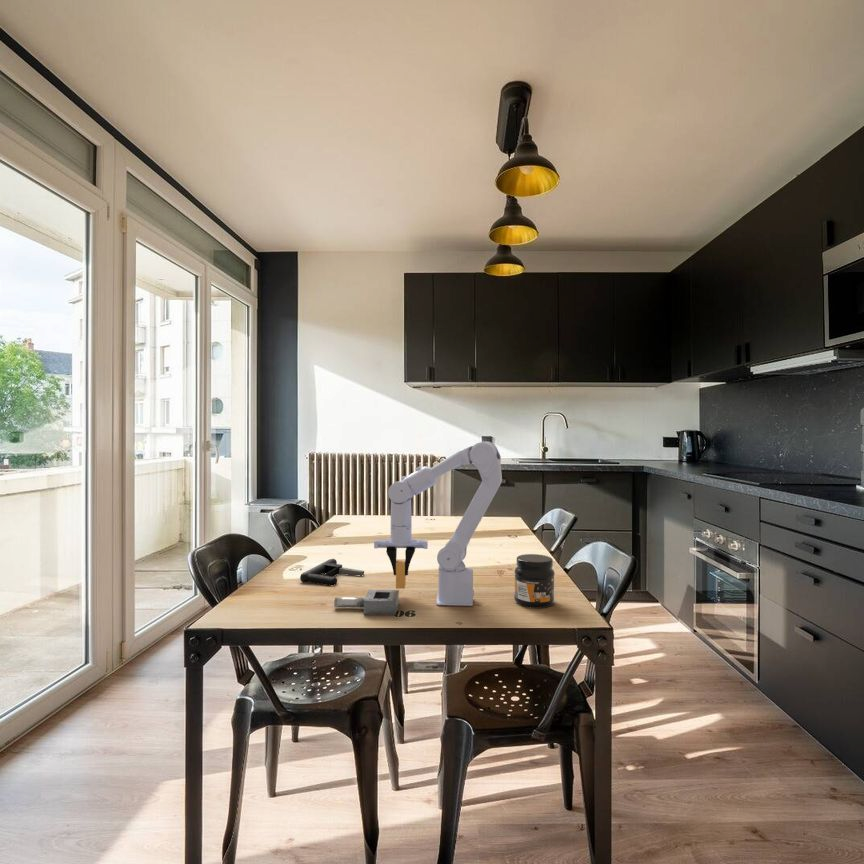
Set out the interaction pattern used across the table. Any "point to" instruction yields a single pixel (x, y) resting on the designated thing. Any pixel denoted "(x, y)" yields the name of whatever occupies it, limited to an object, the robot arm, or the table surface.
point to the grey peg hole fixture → (373, 602)
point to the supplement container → (534, 581)
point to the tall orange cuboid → (400, 574)
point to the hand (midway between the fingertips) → (400, 574)
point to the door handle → (327, 573)
